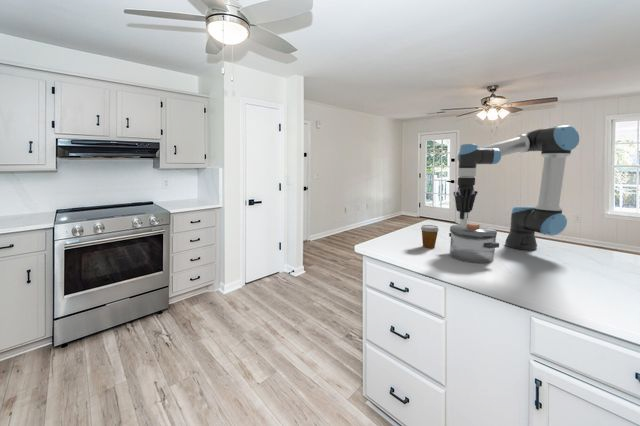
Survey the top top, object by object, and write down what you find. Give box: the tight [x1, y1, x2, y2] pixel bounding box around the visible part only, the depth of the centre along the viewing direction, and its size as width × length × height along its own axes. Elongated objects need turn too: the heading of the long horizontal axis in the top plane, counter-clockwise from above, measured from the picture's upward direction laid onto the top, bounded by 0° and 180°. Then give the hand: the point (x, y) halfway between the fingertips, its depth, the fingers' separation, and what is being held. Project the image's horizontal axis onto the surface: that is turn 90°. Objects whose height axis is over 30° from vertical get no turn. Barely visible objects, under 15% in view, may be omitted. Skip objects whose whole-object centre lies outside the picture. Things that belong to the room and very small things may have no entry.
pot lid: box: [449, 222, 498, 238], centre depth 150 cm, size 21×21×4 cm
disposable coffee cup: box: [420, 224, 440, 250], centre depth 169 cm, size 10×10×12 cm
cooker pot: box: [448, 232, 500, 264], centre depth 151 cm, size 22×25×12 cm
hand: (463, 225), depth 147 cm, fingers closed
